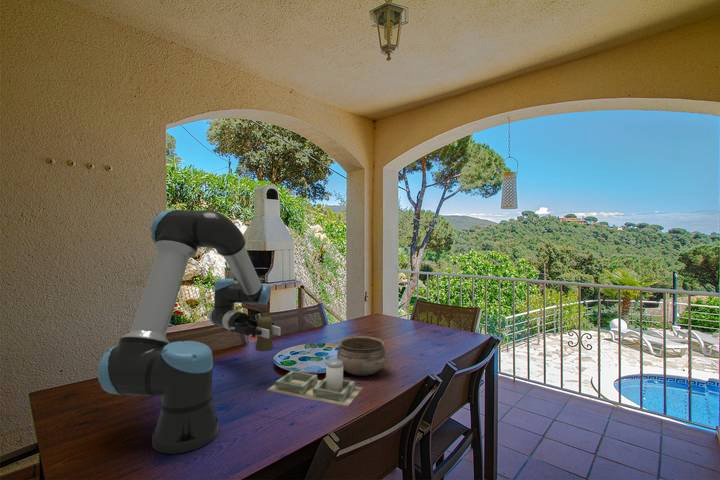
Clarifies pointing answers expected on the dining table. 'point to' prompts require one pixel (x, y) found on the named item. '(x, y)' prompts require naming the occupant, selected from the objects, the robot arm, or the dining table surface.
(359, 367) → the cooking pot
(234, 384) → the dining table surface
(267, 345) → the pepper mill
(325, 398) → the condiment caddy
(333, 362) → the salt shaker
